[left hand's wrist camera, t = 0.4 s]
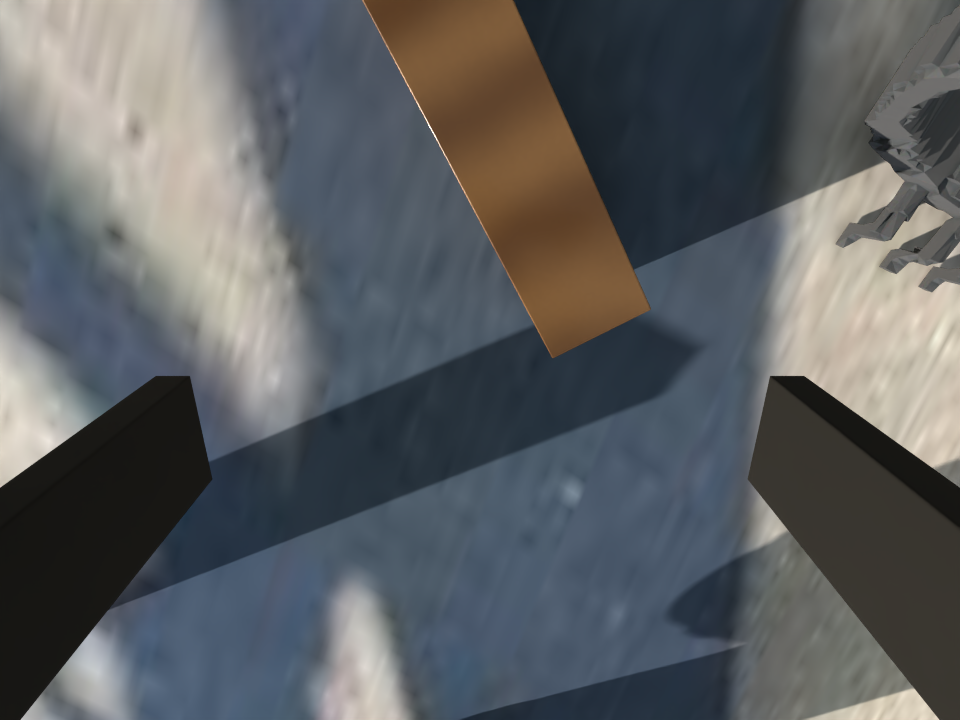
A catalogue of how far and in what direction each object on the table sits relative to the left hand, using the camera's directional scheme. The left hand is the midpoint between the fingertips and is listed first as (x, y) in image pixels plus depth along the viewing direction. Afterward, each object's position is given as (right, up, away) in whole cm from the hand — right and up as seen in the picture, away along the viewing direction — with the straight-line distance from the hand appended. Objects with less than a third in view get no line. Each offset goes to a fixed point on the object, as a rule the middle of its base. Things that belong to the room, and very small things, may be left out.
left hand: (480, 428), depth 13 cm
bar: (+1, +15, +20) cm, 25 cm away
